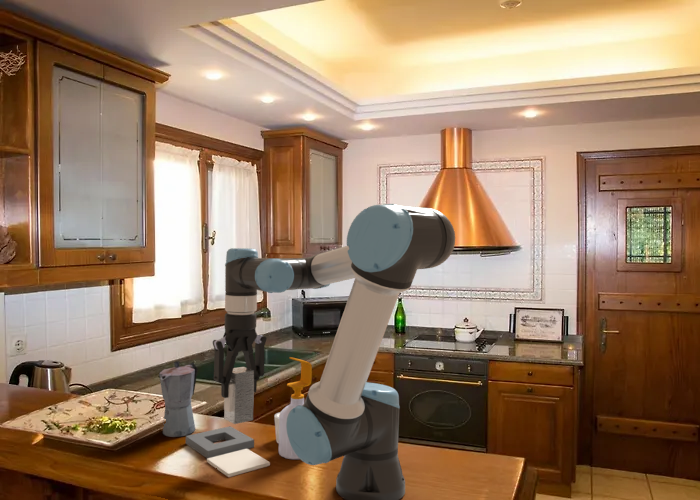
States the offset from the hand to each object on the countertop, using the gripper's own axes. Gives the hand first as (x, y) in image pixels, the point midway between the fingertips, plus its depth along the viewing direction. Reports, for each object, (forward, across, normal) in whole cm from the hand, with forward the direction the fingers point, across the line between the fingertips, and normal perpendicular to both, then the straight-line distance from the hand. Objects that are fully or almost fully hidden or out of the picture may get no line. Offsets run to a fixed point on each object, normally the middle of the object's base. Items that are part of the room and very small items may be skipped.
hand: (238, 408), depth 136 cm
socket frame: (+14, -2, -13) cm, 19 cm away
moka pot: (+14, +2, -30) cm, 33 cm away
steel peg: (+3, 0, 0) cm, 3 cm away
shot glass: (+14, -18, -6) cm, 23 cm away
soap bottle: (+14, -15, +3) cm, 21 cm away
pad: (+14, 0, 0) cm, 14 cm away
